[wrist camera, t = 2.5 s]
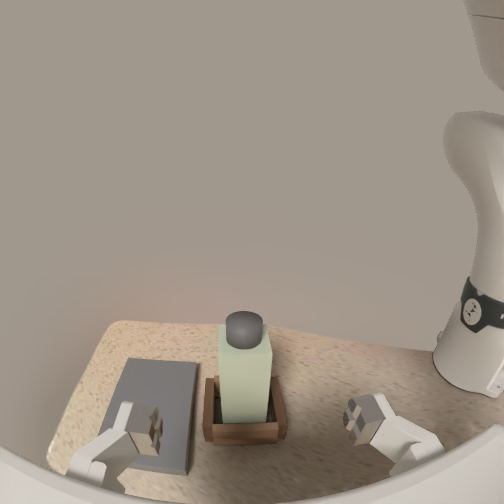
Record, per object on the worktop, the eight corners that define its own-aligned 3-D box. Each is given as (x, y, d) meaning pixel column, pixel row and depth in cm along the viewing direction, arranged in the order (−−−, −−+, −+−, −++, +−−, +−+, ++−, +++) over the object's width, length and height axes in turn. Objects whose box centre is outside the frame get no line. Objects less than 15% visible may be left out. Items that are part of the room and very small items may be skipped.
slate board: (197, 369, 36) (196, 362, 35) (187, 475, 20) (184, 469, 19) (130, 365, 35) (128, 357, 34) (97, 459, 19) (91, 453, 18)
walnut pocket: (274, 389, 32) (276, 374, 31) (285, 442, 24) (288, 428, 23) (207, 391, 32) (206, 375, 31) (205, 445, 24) (202, 431, 23)
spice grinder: (261, 401, 30) (267, 306, 26) (264, 430, 26) (274, 334, 22) (223, 402, 30) (218, 307, 26) (223, 431, 26) (216, 335, 21)
